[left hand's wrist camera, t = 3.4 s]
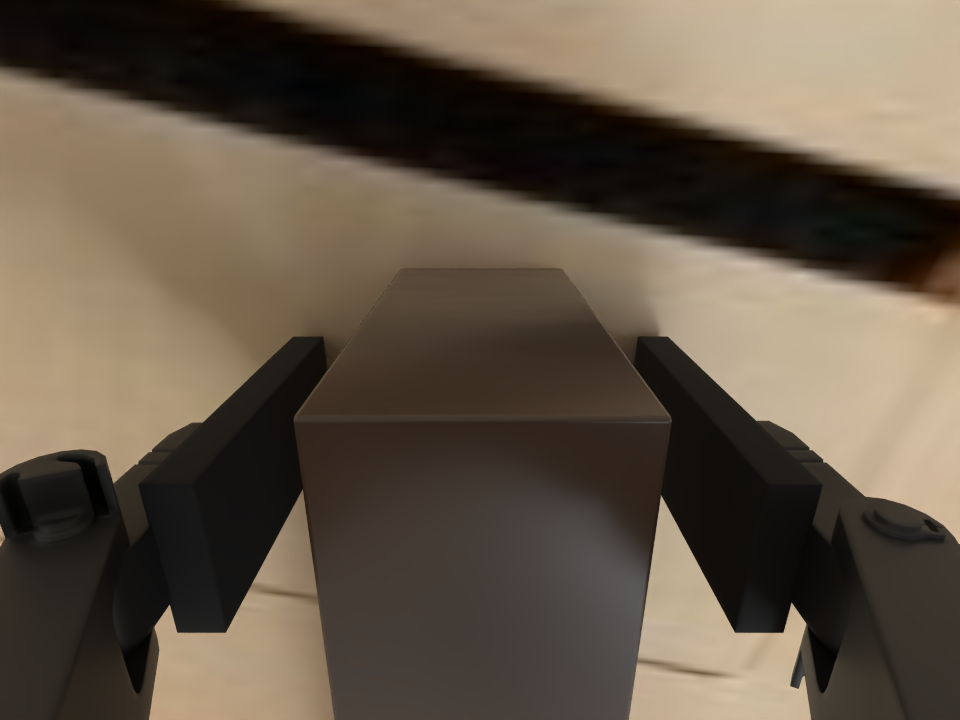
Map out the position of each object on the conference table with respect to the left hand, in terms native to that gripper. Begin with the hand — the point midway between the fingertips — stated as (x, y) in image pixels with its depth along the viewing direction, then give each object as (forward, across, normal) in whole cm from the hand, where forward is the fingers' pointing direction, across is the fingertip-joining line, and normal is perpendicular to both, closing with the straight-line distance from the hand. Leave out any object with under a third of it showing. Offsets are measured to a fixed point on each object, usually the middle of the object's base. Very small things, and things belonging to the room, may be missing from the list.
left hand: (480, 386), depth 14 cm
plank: (0, 0, -10) cm, 10 cm away
